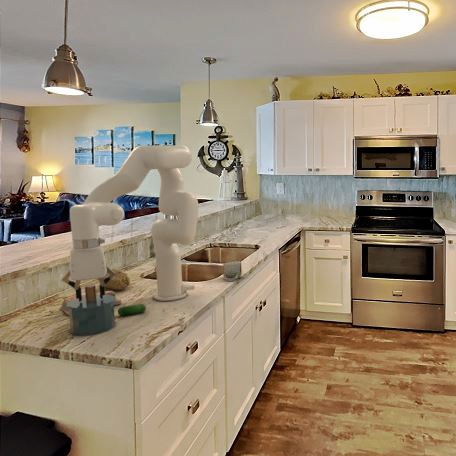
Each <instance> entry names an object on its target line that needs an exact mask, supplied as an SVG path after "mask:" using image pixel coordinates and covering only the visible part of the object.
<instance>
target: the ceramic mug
mask: <svg viewBox="0 0 456 456" xmlns="http://www.w3.org/2000/svg"><path fill="white" fill-rule="evenodd" d="M242 273H243V271H242V262H241V261H230V262H224V263H223V264H222V275H223V277H224V280H226V281H227V282H234V281H236V280H237V279H241V278H242Z"/></svg>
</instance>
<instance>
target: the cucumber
mask: <svg viewBox="0 0 456 456" xmlns="http://www.w3.org/2000/svg"><path fill="white" fill-rule="evenodd" d="M146 310H147V306H146V305H145V304H144V303H138V304H131V305H123V306H120V307H119V308H118V309H117V314H118V315H119V316H122V317H123V316H129V315H136V314H143V313H145V312H146Z"/></svg>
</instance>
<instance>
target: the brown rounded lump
mask: <svg viewBox="0 0 456 456" xmlns="http://www.w3.org/2000/svg"><path fill="white" fill-rule="evenodd" d="M111 270H112V271H114V272H115V276H114V277H113V278H111V279H110V280H109V282H108V283H107V284H106V285H105V286H104V287H105V288H106V289H111V290H124V289H126V288H128V287H129V286H130V284H131V280H130V277H129V276H128V273H127V272H126V271H124V270H120V269H111ZM108 275H109V273H108V272H107V274H106V276H105V277H103V279H105V278H106V277H107V276H108Z"/></svg>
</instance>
